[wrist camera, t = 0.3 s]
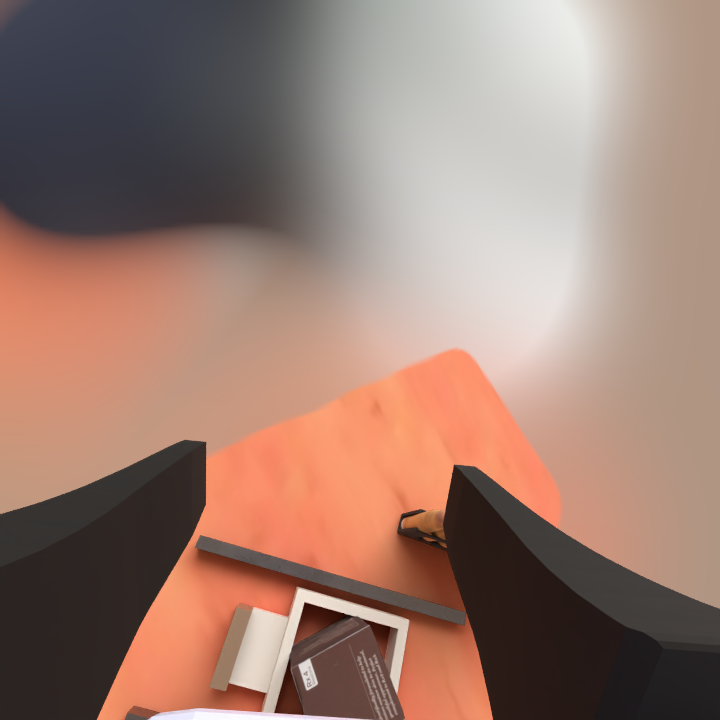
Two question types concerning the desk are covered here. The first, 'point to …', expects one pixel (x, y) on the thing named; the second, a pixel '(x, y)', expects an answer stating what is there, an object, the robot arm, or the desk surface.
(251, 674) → the frame
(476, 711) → the desk surface
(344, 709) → the box
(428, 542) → the ammunition clip
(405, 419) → the desk surface
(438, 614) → the track
